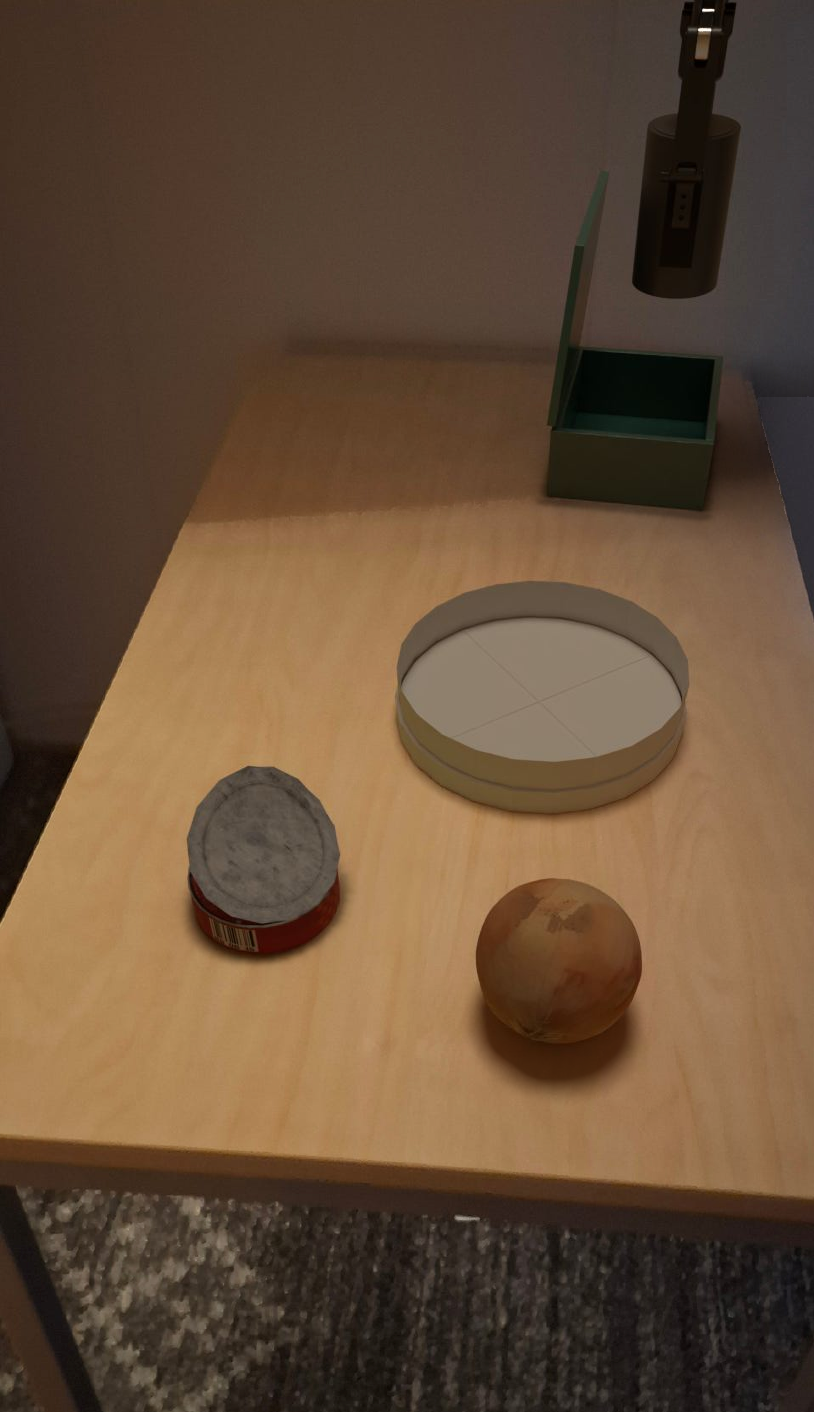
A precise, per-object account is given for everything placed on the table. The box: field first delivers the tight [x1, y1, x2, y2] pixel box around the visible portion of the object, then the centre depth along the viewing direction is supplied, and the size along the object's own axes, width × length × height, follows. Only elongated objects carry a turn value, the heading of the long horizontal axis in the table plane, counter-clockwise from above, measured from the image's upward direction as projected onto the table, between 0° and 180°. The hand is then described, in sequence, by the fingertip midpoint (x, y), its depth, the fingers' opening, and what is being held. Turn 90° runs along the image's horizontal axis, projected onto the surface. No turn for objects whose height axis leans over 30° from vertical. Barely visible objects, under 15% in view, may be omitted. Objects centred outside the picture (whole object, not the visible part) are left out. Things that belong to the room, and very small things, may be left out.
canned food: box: [186, 765, 341, 955], centre depth 76 cm, size 11×10×10 cm
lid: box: [546, 170, 610, 427], centre depth 106 cm, size 15×18×1 cm
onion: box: [475, 877, 643, 1044], centre depth 68 cm, size 10×10×10 cm
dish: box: [394, 580, 690, 815], centre depth 89 cm, size 22×22×5 cm
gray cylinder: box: [631, 112, 742, 300], centre depth 98 cm, size 7×7×12 cm
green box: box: [545, 345, 724, 512], centre depth 113 cm, size 15×18×7 cm
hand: (678, 247), depth 101 cm, fingers closed on gray cylinder, 7 cm apart
